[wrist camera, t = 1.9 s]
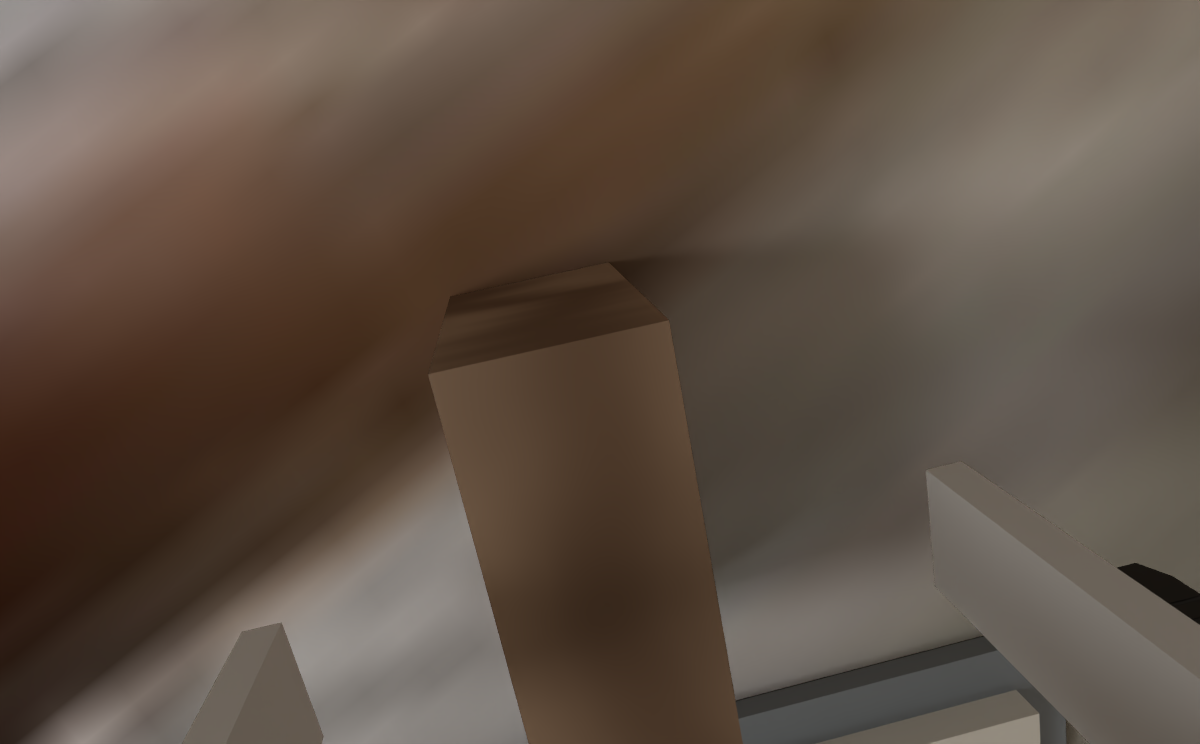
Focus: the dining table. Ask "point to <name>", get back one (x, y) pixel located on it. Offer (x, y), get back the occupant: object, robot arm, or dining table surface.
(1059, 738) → the grey flat frame
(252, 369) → the dining table surface
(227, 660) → the robot arm
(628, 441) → the walnut block
